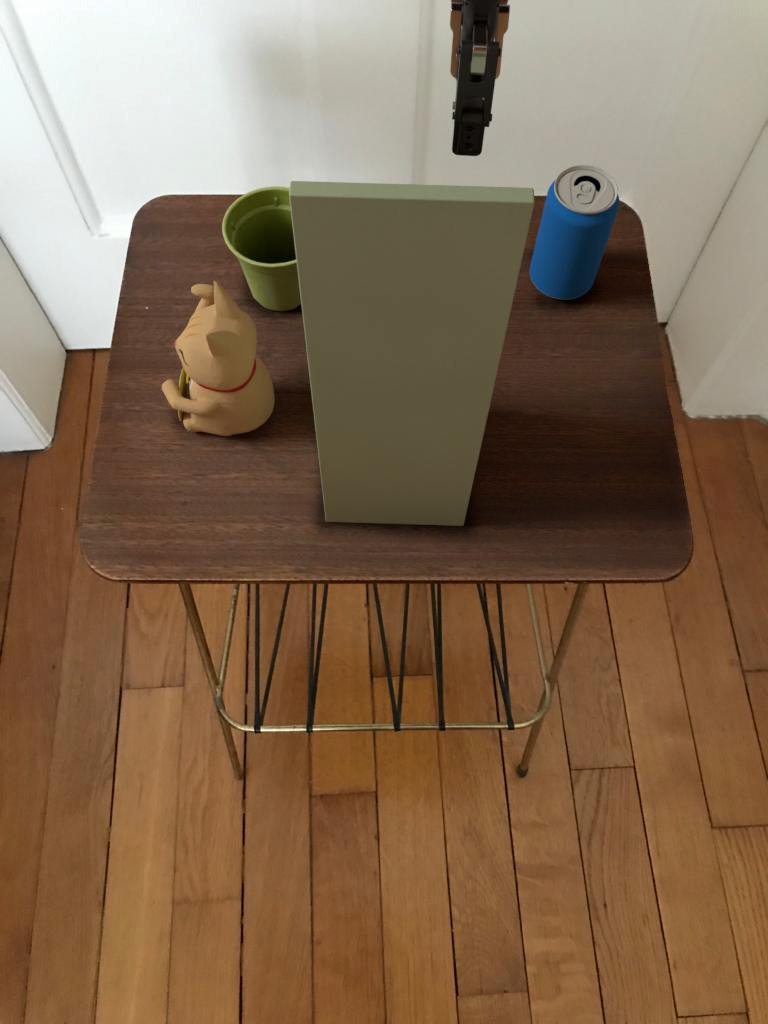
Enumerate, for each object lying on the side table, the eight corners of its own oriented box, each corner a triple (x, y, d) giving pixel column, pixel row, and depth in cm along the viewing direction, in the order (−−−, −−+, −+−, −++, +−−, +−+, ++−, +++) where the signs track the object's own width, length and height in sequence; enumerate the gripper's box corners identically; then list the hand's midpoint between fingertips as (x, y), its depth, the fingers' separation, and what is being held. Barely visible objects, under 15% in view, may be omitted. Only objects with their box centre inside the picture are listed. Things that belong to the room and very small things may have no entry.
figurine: (178, 364, 85) (141, 255, 71) (281, 368, 85) (263, 260, 71) (165, 443, 81) (124, 344, 68) (273, 447, 81) (253, 348, 68)
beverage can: (599, 263, 91) (630, 171, 80) (584, 312, 88) (614, 224, 77) (537, 246, 92) (559, 153, 81) (520, 294, 89) (541, 205, 78)
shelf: (462, 405, 83) (524, 31, 49) (463, 526, 78) (534, 202, 44) (333, 401, 83) (305, 25, 49) (325, 522, 78) (288, 195, 44)
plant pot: (329, 250, 91) (325, 185, 83) (330, 325, 87) (325, 265, 79) (237, 251, 91) (224, 186, 83) (233, 327, 87) (219, 266, 79)
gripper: (556, -37, 51) (516, 183, 66) (552, -175, 57) (517, 53, 72) (424, -43, 51) (414, 177, 66) (435, -181, 58) (423, 48, 72)
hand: (467, 112), depth 69 cm, fingers open, 8 cm apart
